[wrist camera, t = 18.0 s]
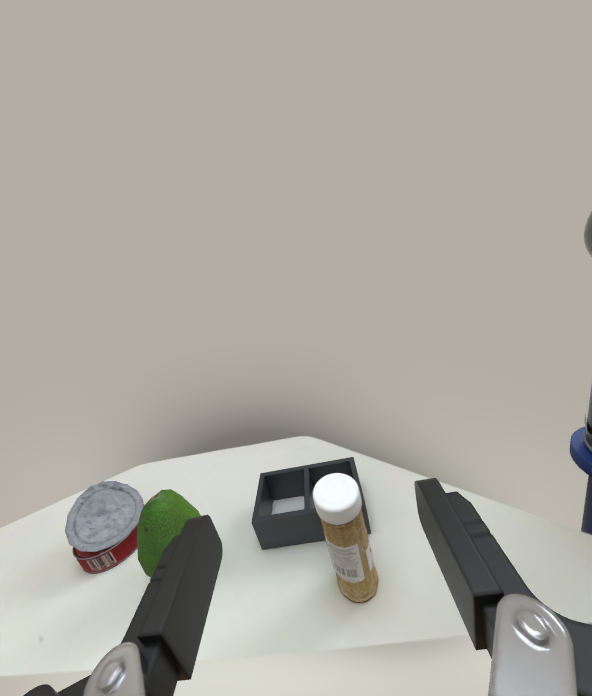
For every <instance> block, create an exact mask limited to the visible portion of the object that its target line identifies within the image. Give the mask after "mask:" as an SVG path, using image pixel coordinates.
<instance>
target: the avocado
mask: <svg viewBox="0 0 592 696" xmlns="http://www.w3.org/2000/svg"><path fill="white" fill-rule="evenodd" d="M198 516H200V514H199V512H198V510H196V509H195V508H194V507H193V506H192V505H191V504H190V503H189V502H188V501H187V500H185V499H184V498H183V497H182V496H181V495H180V494H178V493H176V492H175V491H173V490H171V489H170V490H161V491H160V492H159V493H157V494H156V495H155V496H153V497H152V498H151V499H150V500H149V501H148V502H147V503H146V504H145V506H144V507H143V509H142V511H141V514H140V518H139V522H138V527H137V547H138V560H139V562H140V564H141V566H142V568H143V570H144V572H145V573H146V575H148V576H149V577H152V575H153V573H154V571H155V569H157V564H158V562H159V560H160V558H161V555H162V553H163V551H164V549H165V548H166V547H167V546H168V544H169V543H170V542H171V540H172V539H173V538H174V537H175V536H177V535H180V534H181V531H182V529H183V527H184V524H185V522H186V521H187V519H188V518H192V517H198Z"/></svg>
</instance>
